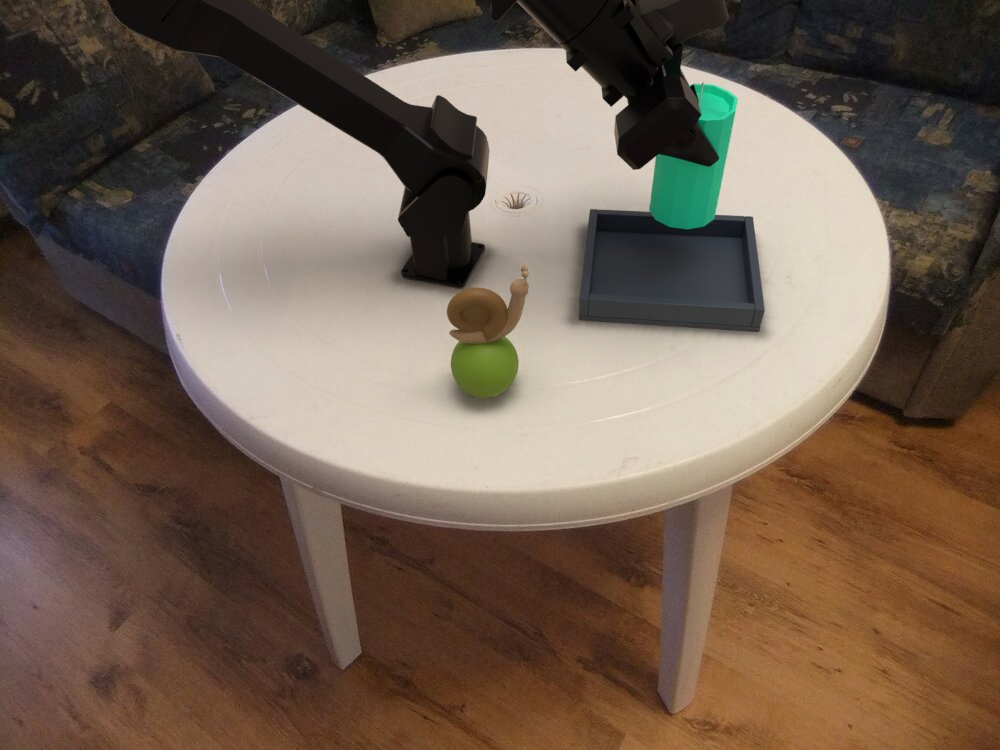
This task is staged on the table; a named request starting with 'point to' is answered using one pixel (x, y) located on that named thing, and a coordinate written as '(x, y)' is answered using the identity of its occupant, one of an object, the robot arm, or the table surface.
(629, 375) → the table surface
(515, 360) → the snail figurine
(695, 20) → the robot arm
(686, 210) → the candle
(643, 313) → the tray
